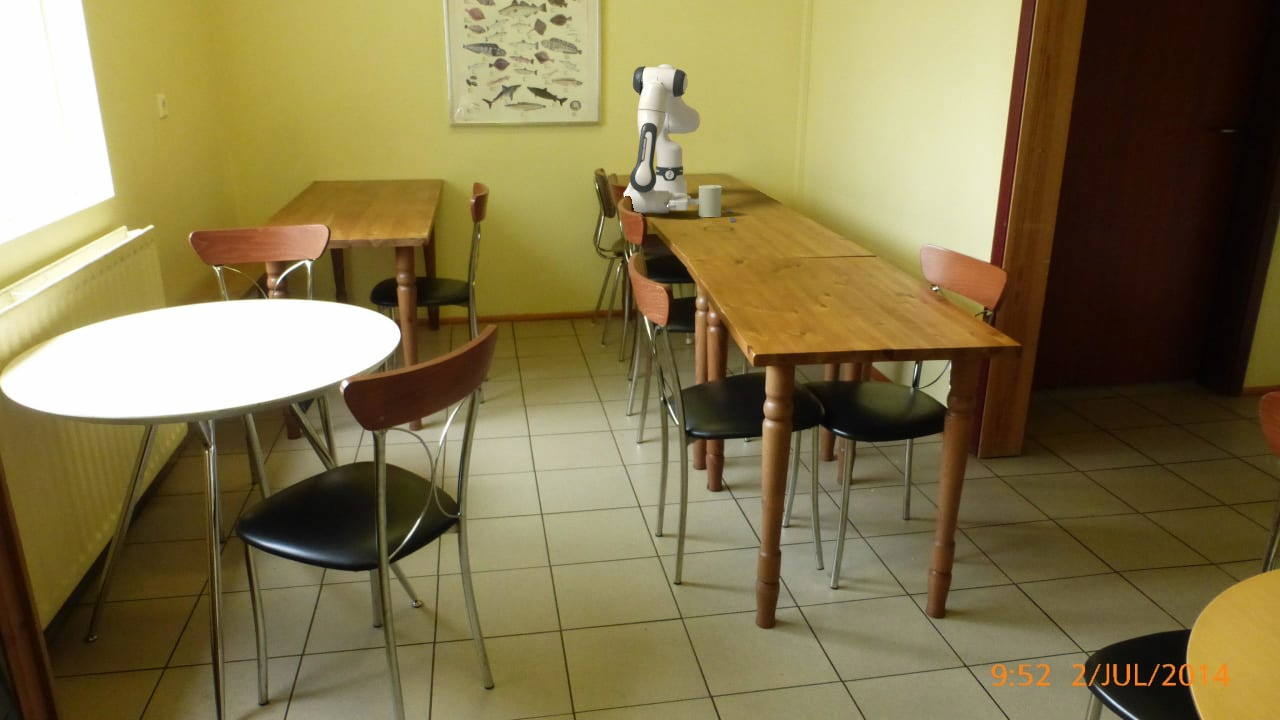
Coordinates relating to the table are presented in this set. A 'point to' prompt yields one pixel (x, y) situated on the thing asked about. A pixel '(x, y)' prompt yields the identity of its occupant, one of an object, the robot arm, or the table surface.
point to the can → (709, 201)
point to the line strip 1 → (729, 211)
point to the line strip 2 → (732, 219)
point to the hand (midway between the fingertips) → (699, 201)
